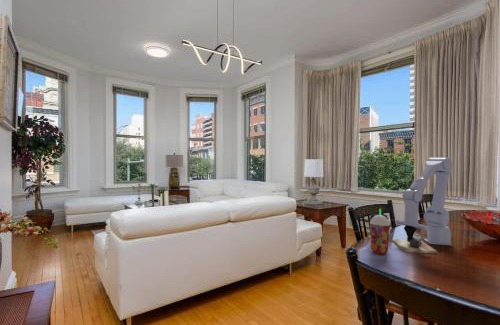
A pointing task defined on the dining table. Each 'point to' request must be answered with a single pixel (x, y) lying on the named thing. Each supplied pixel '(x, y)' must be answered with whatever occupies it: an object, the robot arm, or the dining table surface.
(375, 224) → the smoothie
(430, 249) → the board
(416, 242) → the leg
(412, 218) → the robot arm
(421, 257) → the dining table surface
